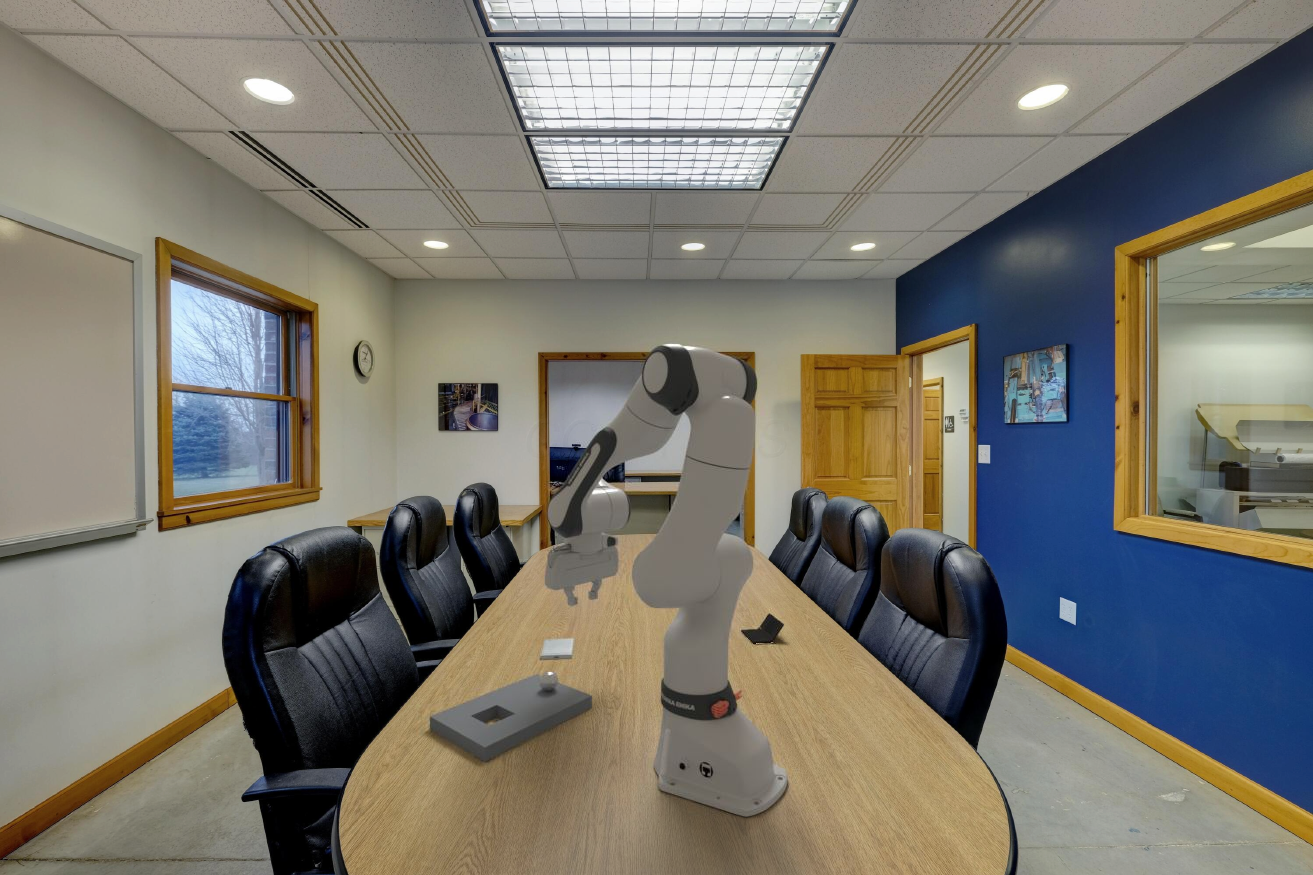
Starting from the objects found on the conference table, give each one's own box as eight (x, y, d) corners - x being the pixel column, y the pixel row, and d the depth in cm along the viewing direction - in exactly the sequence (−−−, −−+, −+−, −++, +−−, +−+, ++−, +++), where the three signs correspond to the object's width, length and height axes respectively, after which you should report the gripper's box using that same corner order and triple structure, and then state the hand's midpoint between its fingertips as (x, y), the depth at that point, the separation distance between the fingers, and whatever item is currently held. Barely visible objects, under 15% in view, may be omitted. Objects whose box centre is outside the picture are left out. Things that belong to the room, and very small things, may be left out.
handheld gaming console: (734, 627, 164) (754, 600, 165) (750, 640, 166) (770, 613, 167) (753, 646, 153) (775, 617, 154) (770, 659, 155) (791, 630, 156)
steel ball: (562, 689, 119) (562, 671, 119) (547, 696, 116) (547, 676, 116) (549, 684, 121) (549, 666, 121) (535, 691, 118) (535, 672, 118)
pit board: (591, 707, 116) (592, 695, 116) (484, 762, 96) (484, 747, 96) (536, 684, 127) (536, 673, 127) (429, 729, 107) (429, 716, 107)
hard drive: (544, 639, 155) (540, 655, 143) (574, 638, 156) (572, 653, 144) (544, 645, 155) (540, 661, 143) (574, 644, 156) (572, 660, 144)
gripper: (558, 549, 117) (557, 615, 117) (623, 537, 133) (622, 595, 133) (538, 545, 121) (538, 609, 121) (604, 535, 137) (603, 591, 137)
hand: (583, 602), depth 127 cm, fingers open, 5 cm apart
